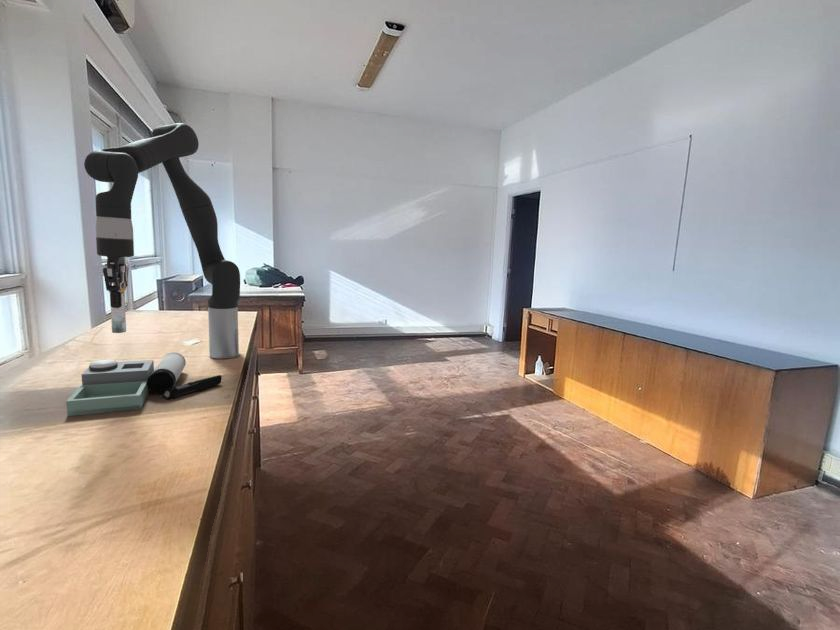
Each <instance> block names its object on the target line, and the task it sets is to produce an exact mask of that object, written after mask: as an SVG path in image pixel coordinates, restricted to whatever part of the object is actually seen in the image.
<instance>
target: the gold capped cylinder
mask: <svg viewBox="0 0 840 630" xmlns="http://www.w3.org/2000/svg"><path fill="white" fill-rule="evenodd" d="M121 289H122V291H121V298H122V306H121V307H120V308H112V307H111V306H110V317H111V318H110V319H111V320H110V321H111V333H112V334H122V333H127V317H126V315H127V313H126V312H127V311H126V292H125V291H126V290H125V288H122V287H121Z"/></svg>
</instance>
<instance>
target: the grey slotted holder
mask: <svg viewBox="0 0 840 630" xmlns="http://www.w3.org/2000/svg"><path fill="white" fill-rule="evenodd" d="M154 361H155V360H154V359H148V360H130V361H129V360H128V361H117V360H116V359H100V360H99V359H98V360H95V361H92V362H90V363H89V366H88V367H87V368H86V369H85V371H83V372H82V373H81V375H80V376H81V383H82V384H81V385H94V384H108V383H122V382H136V381H147V380H148V378H149V376H150V375H151V373H152V372H153V371H154V370H155V363H154ZM150 391H151V390H150V389H149V388H148V393H150Z"/></svg>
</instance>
